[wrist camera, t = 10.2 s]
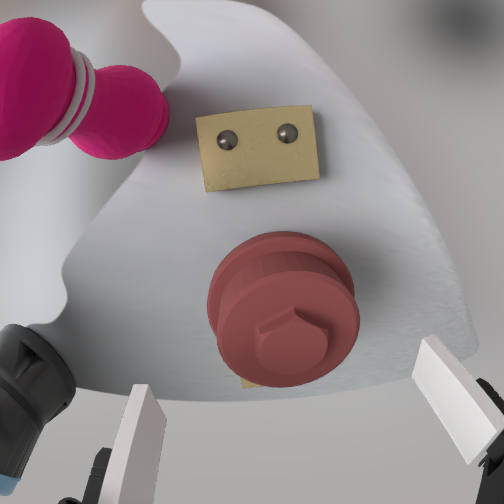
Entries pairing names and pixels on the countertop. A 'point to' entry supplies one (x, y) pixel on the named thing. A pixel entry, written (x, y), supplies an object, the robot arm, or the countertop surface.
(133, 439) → the robot arm
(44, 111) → the pepper mill
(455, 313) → the countertop surface
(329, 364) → the mechanical component
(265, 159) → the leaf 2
